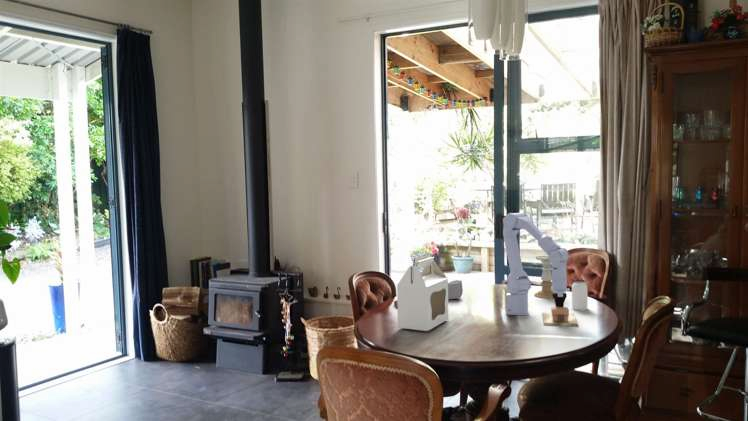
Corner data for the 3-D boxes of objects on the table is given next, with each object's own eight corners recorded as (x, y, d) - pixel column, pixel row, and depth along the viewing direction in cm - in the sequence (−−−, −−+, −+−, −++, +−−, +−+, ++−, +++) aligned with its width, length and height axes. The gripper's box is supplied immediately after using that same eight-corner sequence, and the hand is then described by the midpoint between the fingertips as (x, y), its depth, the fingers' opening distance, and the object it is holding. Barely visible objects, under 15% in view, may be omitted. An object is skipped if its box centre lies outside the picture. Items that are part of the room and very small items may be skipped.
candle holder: (539, 294, 286) (538, 254, 285) (563, 296, 279) (562, 256, 278) (530, 298, 276) (529, 257, 275) (555, 300, 269) (554, 259, 268)
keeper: (552, 320, 224) (551, 309, 223) (551, 318, 228) (551, 306, 228) (568, 321, 222) (568, 309, 222) (568, 318, 227) (567, 307, 227)
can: (588, 311, 245) (588, 283, 245) (573, 310, 247) (572, 283, 246) (586, 307, 252) (585, 281, 251) (571, 307, 253) (570, 281, 252)
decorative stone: (468, 291, 279) (457, 273, 280) (467, 293, 272) (456, 276, 273) (443, 305, 282) (433, 288, 283) (442, 308, 276) (431, 291, 276)
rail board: (543, 325, 223) (543, 315, 222) (542, 314, 240) (542, 305, 240) (578, 326, 219) (578, 316, 219) (574, 316, 237) (574, 306, 236)
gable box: (427, 331, 217) (426, 259, 216) (397, 328, 224) (395, 258, 223) (448, 319, 237) (447, 253, 235) (420, 316, 243) (419, 252, 242)
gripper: (570, 281, 220) (571, 315, 221) (568, 275, 234) (568, 307, 235) (552, 280, 222) (552, 314, 222) (550, 275, 236) (550, 307, 236)
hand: (559, 311), depth 229 cm, fingers closed
